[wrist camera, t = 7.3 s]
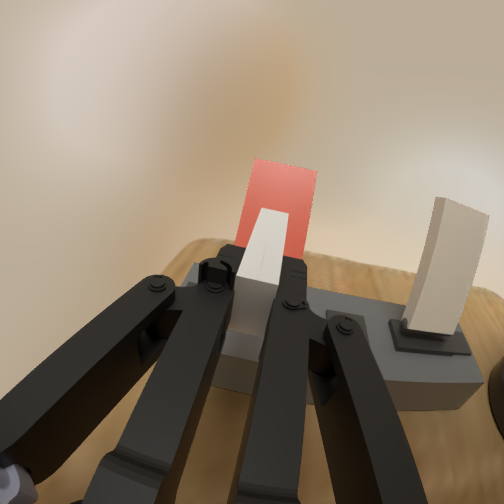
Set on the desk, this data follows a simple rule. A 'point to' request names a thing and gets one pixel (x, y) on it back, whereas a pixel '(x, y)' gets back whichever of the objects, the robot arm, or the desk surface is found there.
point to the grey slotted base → (382, 346)
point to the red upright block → (279, 202)
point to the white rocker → (445, 269)
